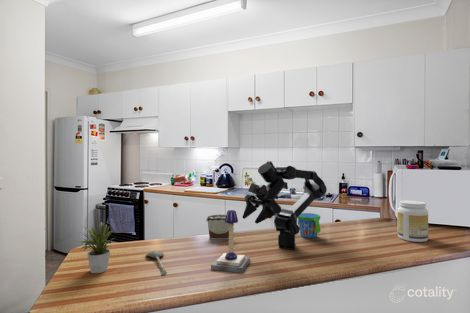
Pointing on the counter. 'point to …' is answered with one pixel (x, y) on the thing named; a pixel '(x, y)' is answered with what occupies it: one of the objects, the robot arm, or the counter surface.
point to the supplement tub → (412, 221)
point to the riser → (230, 263)
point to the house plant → (97, 249)
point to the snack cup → (309, 225)
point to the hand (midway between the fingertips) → (249, 220)
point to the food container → (218, 227)
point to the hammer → (157, 255)
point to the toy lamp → (231, 233)
